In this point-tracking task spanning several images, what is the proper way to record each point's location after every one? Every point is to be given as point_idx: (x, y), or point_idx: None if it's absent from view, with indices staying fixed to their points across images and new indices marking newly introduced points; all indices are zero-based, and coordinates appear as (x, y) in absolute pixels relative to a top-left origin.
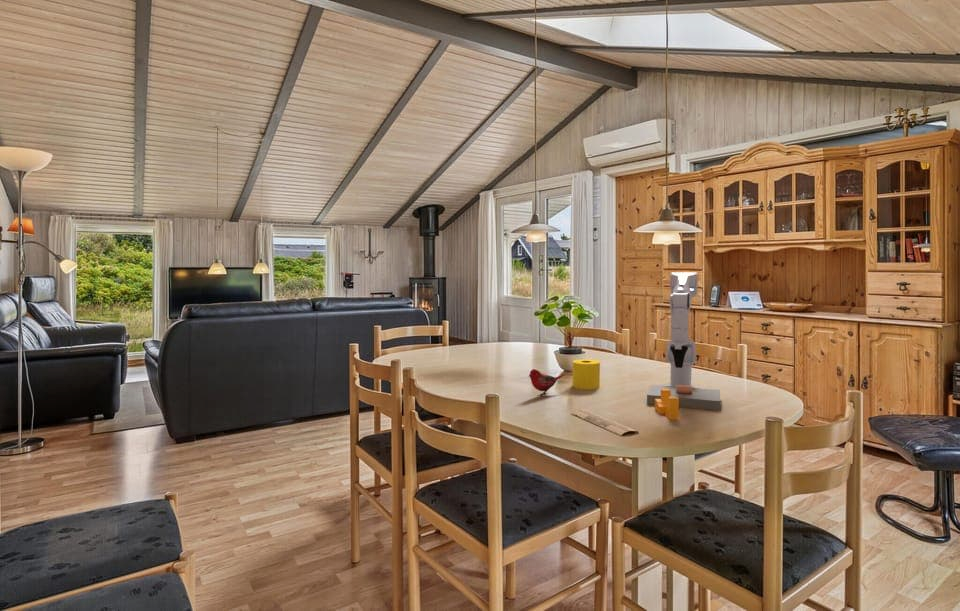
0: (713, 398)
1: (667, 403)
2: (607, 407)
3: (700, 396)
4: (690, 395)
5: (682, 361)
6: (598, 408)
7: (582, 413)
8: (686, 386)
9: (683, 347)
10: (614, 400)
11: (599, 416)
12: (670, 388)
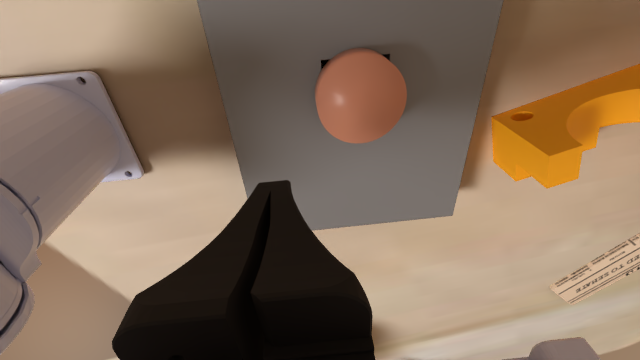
0: None
1: (571, 127)
2: (501, 265)
3: None
4: (419, 48)
5: (297, 211)
6: (514, 277)
7: (600, 288)
8: (356, 90)
9: (243, 348)
10: (416, 271)
11: (633, 257)
12: (294, 162)
